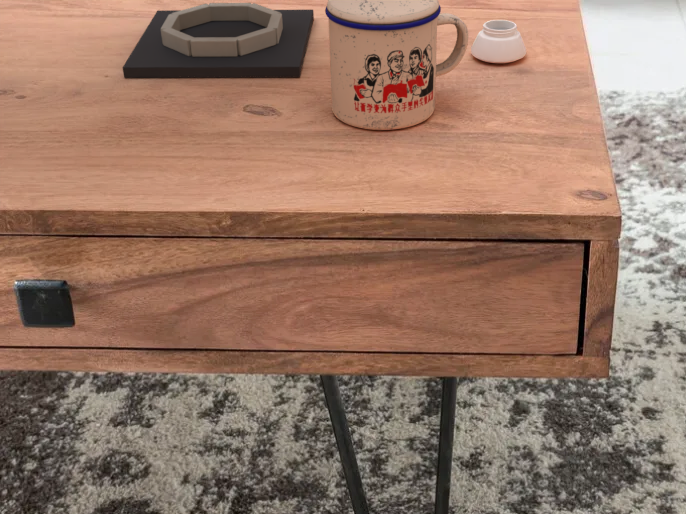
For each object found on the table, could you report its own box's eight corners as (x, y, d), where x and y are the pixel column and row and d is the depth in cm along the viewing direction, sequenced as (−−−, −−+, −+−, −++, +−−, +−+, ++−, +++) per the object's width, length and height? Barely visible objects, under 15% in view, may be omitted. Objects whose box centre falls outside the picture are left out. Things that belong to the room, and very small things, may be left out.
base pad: (123, 78, 95) (119, 50, 94) (158, 20, 108) (155, -5, 106) (299, 77, 94) (298, 50, 93) (313, 19, 107) (312, -6, 106)
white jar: (522, 47, 99) (469, 47, 99) (525, 15, 98) (471, 16, 98) (527, 66, 95) (472, 66, 95) (530, 34, 93) (474, 34, 94)
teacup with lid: (351, 140, 83) (347, -10, 76) (314, 99, 90) (308, -42, 83) (487, 116, 86) (496, -30, 79) (442, 78, 93) (446, -59, 86)
